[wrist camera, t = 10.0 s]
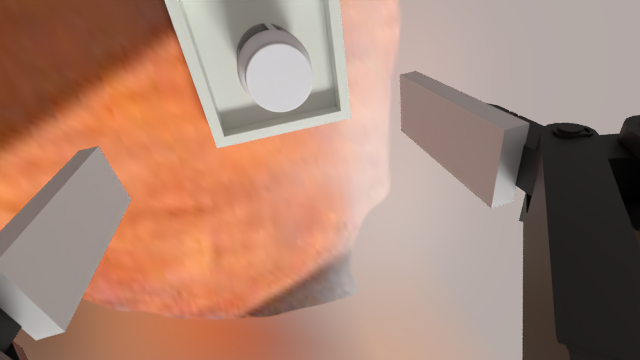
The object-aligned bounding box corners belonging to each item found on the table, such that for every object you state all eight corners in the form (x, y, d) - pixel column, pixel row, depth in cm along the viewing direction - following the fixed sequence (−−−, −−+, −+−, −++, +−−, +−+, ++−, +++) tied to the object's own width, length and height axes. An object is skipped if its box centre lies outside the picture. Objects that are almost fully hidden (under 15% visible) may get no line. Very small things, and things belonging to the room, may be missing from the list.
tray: (165, -15, 26) (158, -16, 24) (328, -42, 28) (335, -45, 26) (218, 138, 34) (217, 148, 31) (344, 110, 35) (351, 118, 33)
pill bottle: (242, 88, 31) (243, 123, 23) (231, 24, 28) (228, 37, 20) (300, 83, 32) (321, 114, 24) (295, 20, 29) (318, 31, 21)
